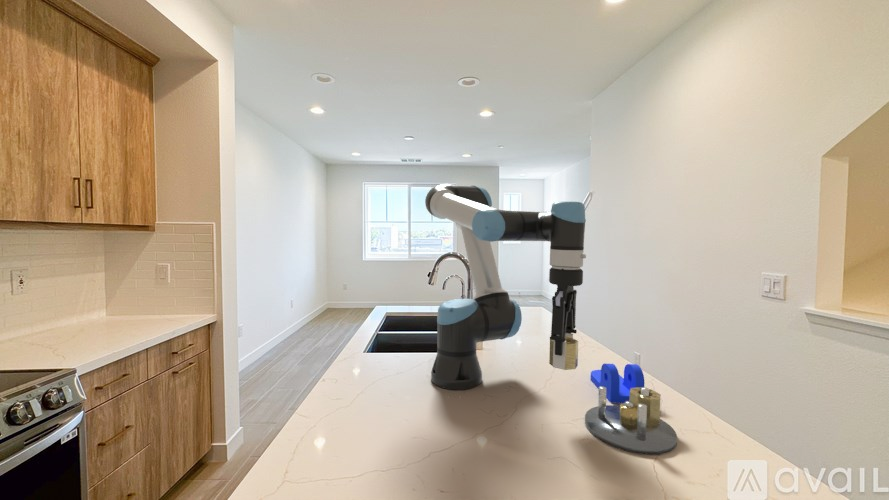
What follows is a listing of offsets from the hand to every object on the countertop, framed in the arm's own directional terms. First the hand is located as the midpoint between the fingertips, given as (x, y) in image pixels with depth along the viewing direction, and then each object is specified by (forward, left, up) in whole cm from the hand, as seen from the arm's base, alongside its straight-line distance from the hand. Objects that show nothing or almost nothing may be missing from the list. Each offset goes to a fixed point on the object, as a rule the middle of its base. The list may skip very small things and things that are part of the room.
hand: (562, 363), depth 85 cm
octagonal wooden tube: (0, 0, 0) cm, 0 cm away
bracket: (+8, +23, -13) cm, 27 cm away
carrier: (+14, +1, -12) cm, 19 cm away
